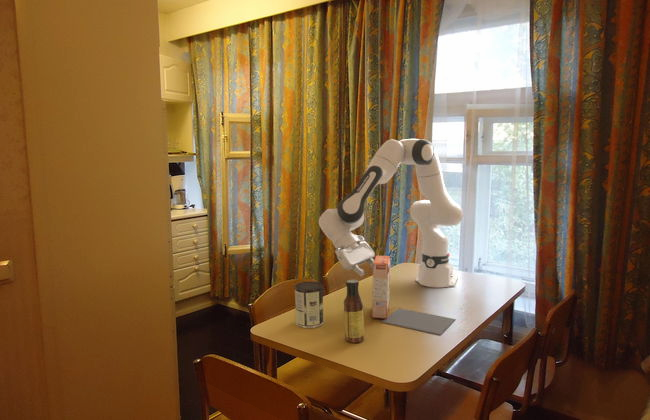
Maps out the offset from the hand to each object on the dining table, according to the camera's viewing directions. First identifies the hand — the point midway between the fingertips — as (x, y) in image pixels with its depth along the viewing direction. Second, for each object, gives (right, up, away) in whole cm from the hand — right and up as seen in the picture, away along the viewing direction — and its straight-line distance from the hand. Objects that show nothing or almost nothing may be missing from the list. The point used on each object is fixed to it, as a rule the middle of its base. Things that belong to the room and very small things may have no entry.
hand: (369, 272), depth 166 cm
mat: (+17, -17, -9) cm, 25 cm away
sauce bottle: (-8, -19, -24) cm, 32 cm away
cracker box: (+4, -16, -1) cm, 16 cm away
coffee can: (-23, -17, -9) cm, 30 cm away
